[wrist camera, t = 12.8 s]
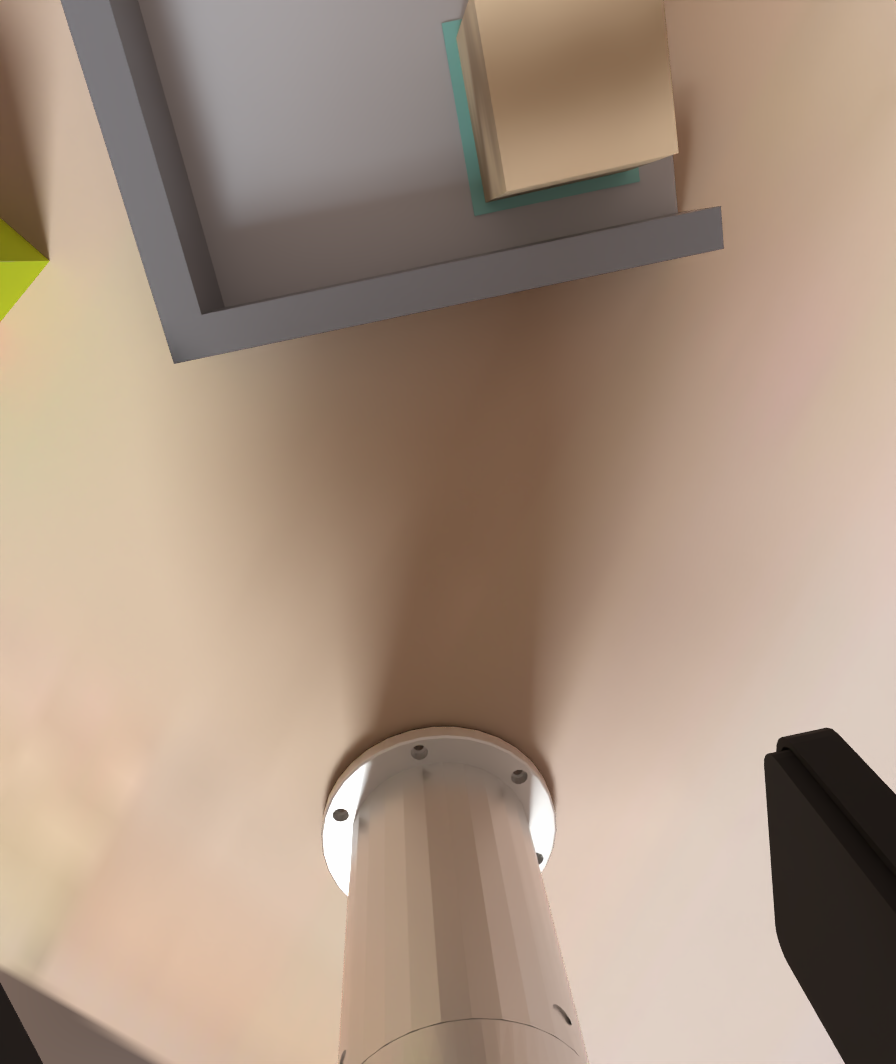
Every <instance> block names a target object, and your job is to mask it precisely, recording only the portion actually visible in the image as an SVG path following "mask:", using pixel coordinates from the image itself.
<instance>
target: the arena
mask: <svg viewBox="0 0 896 1064" xmlns="http://www.w3.org/2000/svg"><path fill="white" fill-rule="evenodd" d="M61 3H62V6H63V9H64V13H65V16H66V19H67V22H68V26H69V29H70V32H71V35H72V38H73V42H74V45H75V48H76V51H77V54H78V58H79V61H80V64H81V67H82V70H83V74H84V77H85V80H86V83H87V86H88V90H89V93H90V96H91V99H92V102H93V106H94V109H95V112H96V115H97V118H98V122H99V125H100V128H101V131H102V135H103V138H104V141H105V144H106V147H107V151H108V154H109V157H110V160H111V163H112V167H113V170H114V173H115V176H116V179H117V183H118V186H119V189H120V192H121V195H122V199H123V202H124V205H125V208H126V211H127V215H128V218H129V221H130V224H131V227H132V231H133V234H134V237H135V240H136V244H137V247H138V250H139V253H140V256H141V260H142V263H143V266H144V269H145V272H146V276H147V279H148V282H149V285H150V288H151V292H152V295H153V298H154V301H155V304H156V308H157V311H158V314H159V317H160V320H161V324H162V327H163V330H164V333H165V336H166V340H167V343H168V346H169V349H170V353H171V356H172V359H173V362H174V364H176V363H180V362H185V361H190V360H195V359H200V358H204V357H209V356H214V355H219V354H223V353H228V352H233V351H238V350H242V349H247V348H252V347H257V346H262V345H266V344H271V343H276V342H281V341H285V340H290V339H295V338H300V337H305V336H309V335H314V334H319V333H324V332H328V331H333V330H338V329H343V328H347V327H352V326H357V325H362V324H367V323H371V322H376V321H381V320H386V319H390V318H395V317H400V316H405V315H409V314H414V313H419V312H424V311H429V310H433V309H438V308H443V307H448V306H452V305H457V304H462V303H467V302H471V301H476V300H481V299H486V298H491V297H495V296H500V295H505V294H510V293H514V292H519V291H524V290H529V289H533V288H538V287H543V286H548V285H553V284H557V283H562V282H567V281H572V280H576V279H581V278H586V277H591V276H596V275H600V274H605V273H610V272H615V271H619V270H624V269H629V268H634V267H638V266H643V265H648V264H653V263H658V262H662V261H667V260H672V259H677V258H681V257H686V256H691V255H696V254H700V253H705V252H710V251H715V250H720V249H724V245H723V231H722V217H721V206H718V207H712V208H705V209H698V210H692V211H685V212H678V208H677V197H676V186H675V174H674V163H673V155H671V156H669V157H666V158H663V159H660V160H657V161H654V162H652V163H649V164H646V165H643V166H640V167H637V168H635V169H632V170H629V171H625V172H621V173H616V174H612V175H607V176H603V177H598V178H594V179H589V180H585V181H581V182H576V183H572V184H567V185H563V186H558V187H554V188H549V189H545V190H540V191H536V192H531V193H527V194H522V195H518V196H514V197H509V198H505V199H500V200H496V201H491V202H487V203H485V197H484V192H483V186H482V180H481V175H480V169H479V164H478V158H477V152H476V147H475V141H474V136H473V130H472V125H471V119H470V113H469V108H468V102H467V97H466V91H465V85H464V80H463V74H462V69H461V63H460V57H459V52H458V46H457V41H456V37H457V34H458V31H459V28H460V25H461V21H462V18H463V15H464V12H465V9H466V6H467V3H468V0H61Z"/></svg>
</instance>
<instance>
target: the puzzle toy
mask: <svg viewBox="0 0 896 1064" xmlns="http://www.w3.org/2000/svg"><path fill="white" fill-rule="evenodd" d="M48 262H49V260H48V259H47V258H46V257H45V256H43V255H42V254H41V253H40V252H39V251H38V250H37V249H35V248H34V247H33V246H32V245H31V244H30V243H29V242H27V241H26V240H25V239H24V238H23V237H22V236H21V235H19V234H18V233H17V232H16V231H15V230H14V229H12V228H11V227H10V226H9V225H8V224H7V223H6V222H4V221H3V220H2V219H1V218H0V322H1V320H2V319H3V318H4V317H5V315H6V314H7V313H8V312H9V310H10V309H11V308H12V307H13V306H14V304H15V303H16V302H17V301H18V299H19V298H20V297H21V296H22V294H23V293H24V292H25V291H26V289H27V288H28V287H29V286H30V284H31V283H32V282H33V281H34V280H35V278H36V277H37V276H38V275H39V273H40V272H41V271H42V270H43V268H44V267H45V266H46V265H47V263H48Z"/></svg>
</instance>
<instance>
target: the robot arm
mask: <svg viewBox="0 0 896 1064" xmlns="http://www.w3.org/2000/svg"><path fill="white" fill-rule="evenodd" d="M417 745H420V746H417ZM764 770H765V784H766V798H767V813H768V827H769V841H770V856H771V870H772V884H773V898H774V913H775V926H776V933H777V937H778V940H779V943H780V946H781V949H782V952H783V954H784V957H785V959H786V961H787V963H788V964H789V966H790V968H791V970H792V971H793V973H794V975H795V977H796V978H797V980H798V982H799V984H800V985H801V987H802V989H803V991H804V992H805V994H806V996H807V998H808V1000H809V1001H810V1003H811V1005H812V1007H813V1008H814V1010H815V1012H816V1014H817V1015H818V1017H819V1019H820V1021H821V1022H822V1024H823V1026H824V1028H825V1029H826V1031H827V1033H828V1035H829V1036H830V1038H831V1040H832V1042H833V1043H834V1045H835V1047H836V1049H837V1050H838V1052H839V1054H840V1056H841V1057H842V1059H843V1061H844V1063H845V1064H896V794H895V793H894V792H893V791H892V790H891V789H890V788H889V787H888V786H887V785H886V784H885V783H884V782H883V781H882V780H881V778H880V777H879V776H878V775H877V774H876V773H875V772H874V771H873V770H872V769H871V768H870V767H869V766H868V765H867V764H866V763H865V762H864V761H863V760H862V758H861V757H860V756H859V755H858V754H857V753H856V752H855V751H854V750H853V749H852V748H851V747H850V746H849V745H848V744H847V743H846V742H845V741H844V740H843V738H842V737H841V736H840V735H839V734H838V733H836V732H835V731H834V730H833V729H830V728H823V729H818V730H814V731H809V732H804V733H800V734H795V735H790V736H786V737H782V738H780V739H779V740H778V742H777V750H776V752H774V753H769V754H767V755H766V756H765V759H764ZM321 835H322V849H323V855H324V858H325V861H326V864H327V867H328V870H329V872H330V874H331V875H332V877H333V879H334V880H335V882H336V884H337V885H338V887H339V888H340V889H341V890H342V891H343V892H344V893H345V894H346V895H347V896H348V898H347V915H346V933H345V950H344V967H343V985H342V1002H341V1019H340V1037H339V1054H338V1064H589V1060H588V1056H587V1052H586V1048H585V1044H584V1040H583V1036H582V1032H581V1029H580V1025H579V1021H578V1017H577V1013H576V1009H575V1005H574V1001H573V997H572V993H571V989H570V985H569V981H568V977H567V973H566V969H565V966H564V962H563V958H562V954H561V950H560V946H559V942H558V938H557V934H556V930H555V926H554V922H553V918H552V914H551V910H550V906H549V903H548V899H547V895H546V891H545V887H544V883H543V879H542V875H541V873H542V871H543V870H544V868H545V867H546V865H547V863H548V860H549V858H550V855H551V853H552V850H553V848H554V842H555V835H556V816H555V809H554V805H553V802H552V798H551V795H550V792H549V790H548V787H547V785H546V783H545V780H544V778H543V776H542V775H541V773H540V772H539V771H538V769H537V768H536V767H535V765H534V764H533V763H532V761H531V760H530V759H528V758H527V757H526V756H525V755H524V754H523V753H522V752H520V751H519V750H518V749H517V748H516V747H514V746H512V745H510V744H509V743H507V742H505V741H503V740H502V739H500V738H498V737H495V736H492V735H490V734H487V733H484V732H481V731H478V730H472V729H466V728H460V727H429V728H423V729H417V730H411V731H408V732H405V733H402V734H399V735H396V736H393V737H390V738H388V739H386V740H384V741H382V742H380V743H379V744H377V745H375V746H373V747H371V748H369V749H368V750H367V751H365V752H364V753H363V754H362V755H360V756H359V757H358V758H357V759H356V760H354V761H353V762H352V763H351V764H350V765H349V766H348V768H347V769H346V770H345V771H344V772H343V773H342V775H341V776H340V777H339V778H338V780H337V782H336V784H335V785H334V787H333V789H332V791H331V793H330V795H329V797H328V800H327V804H326V807H325V811H324V815H323V825H322V833H321ZM0 1064H43V1063H42V1061H41V1059H40V1057H39V1056H38V1053H37V1051H36V1049H35V1048H34V1046H33V1044H32V1042H31V1040H30V1038H29V1036H28V1034H27V1032H26V1031H25V1029H24V1027H23V1025H22V1023H21V1021H20V1019H19V1017H18V1015H17V1013H16V1011H15V1010H14V1008H13V1006H12V1004H11V1002H10V1000H9V998H8V996H7V994H6V993H5V991H4V989H3V987H2V985H1V983H0Z"/></svg>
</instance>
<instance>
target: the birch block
mask: <svg viewBox="0 0 896 1064" xmlns="http://www.w3.org/2000/svg"><path fill="white" fill-rule="evenodd" d="M456 41H457V46H458V52H459V57H460V63H461V69H462V74H463V80H464V85H465V91H466V97H467V102H468V108H469V113H470V119H471V125H472V130H473V136H474V141H475V147H476V152H477V158H478V164H479V169H480V175H481V180H482V186H483V192H484V197H485V203H487V202H491V201H496V200H500V199H505V198H509V197H514V196H518V195H522V194H527V193H531V192H536V191H540V190H545V189H549V188H554V187H558V186H563V185H567V184H572V183H576V182H581V181H585V180H589V179H594V178H598V177H603V176H607V175H612V174H616V173H621V172H625V171H629V170H632V169H635V168H637V167H640V166H643V165H646V164H649V163H652V162H654V161H657V160H660V159H663V158H666V157H669V156H671V155H674V154H677V153H679V150H678V140H677V130H676V120H675V110H674V100H673V90H672V80H671V70H670V60H669V49H668V39H667V29H666V19H665V9H664V0H468V3H467V6H466V9H465V12H464V15H463V18H462V21H461V25H460V28H459V31H458V34H457V37H456Z"/></svg>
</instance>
